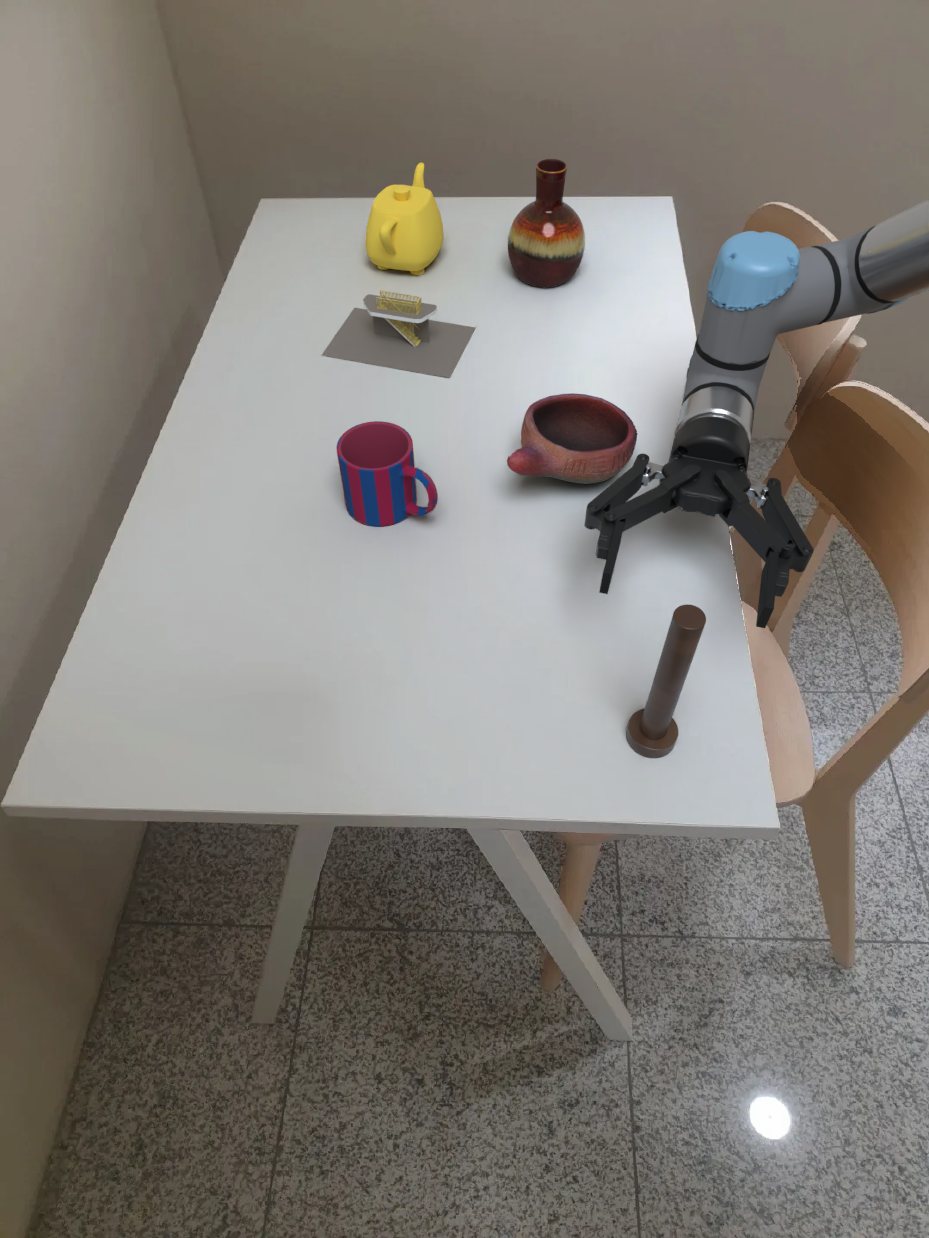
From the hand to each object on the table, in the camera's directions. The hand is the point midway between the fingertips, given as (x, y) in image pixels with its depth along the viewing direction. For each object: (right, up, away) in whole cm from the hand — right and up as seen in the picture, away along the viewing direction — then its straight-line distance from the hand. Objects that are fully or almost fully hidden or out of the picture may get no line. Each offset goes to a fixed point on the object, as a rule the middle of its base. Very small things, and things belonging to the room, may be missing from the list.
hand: (683, 600), depth 72 cm
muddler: (-2, -12, +4) cm, 13 cm away
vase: (-7, +49, +52) cm, 72 cm away
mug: (-27, +10, +22) cm, 36 cm away
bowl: (-6, +15, +25) cm, 30 cm away
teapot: (-27, +53, +56) cm, 82 cm away
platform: (-28, +36, +42) cm, 62 cm away
